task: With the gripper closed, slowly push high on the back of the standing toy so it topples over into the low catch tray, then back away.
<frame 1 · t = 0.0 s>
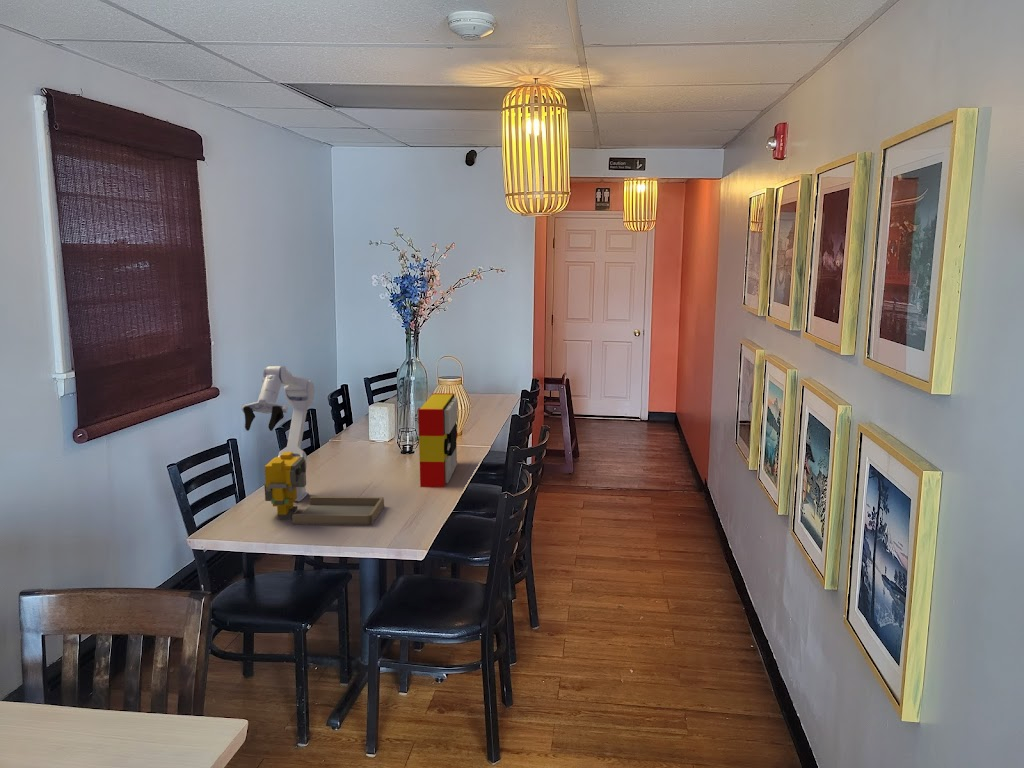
hand: (258, 429, 247), 32 cm above the table, fingers open, 7 cm apart
toy: (287, 514, 263), on the table
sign: (441, 475, 308), on the table
catch tray: (340, 514, 262), on the table
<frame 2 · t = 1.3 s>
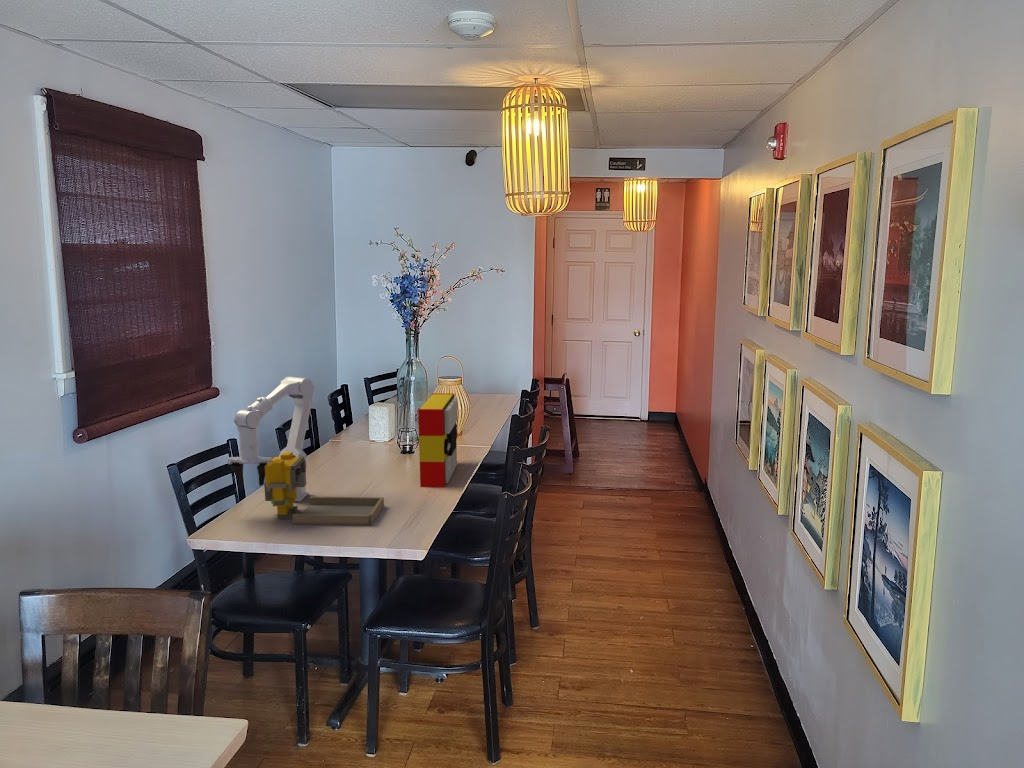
hand: (251, 484, 261), 10 cm above the table, fingers open, 6 cm apart
nothing on the table moved.
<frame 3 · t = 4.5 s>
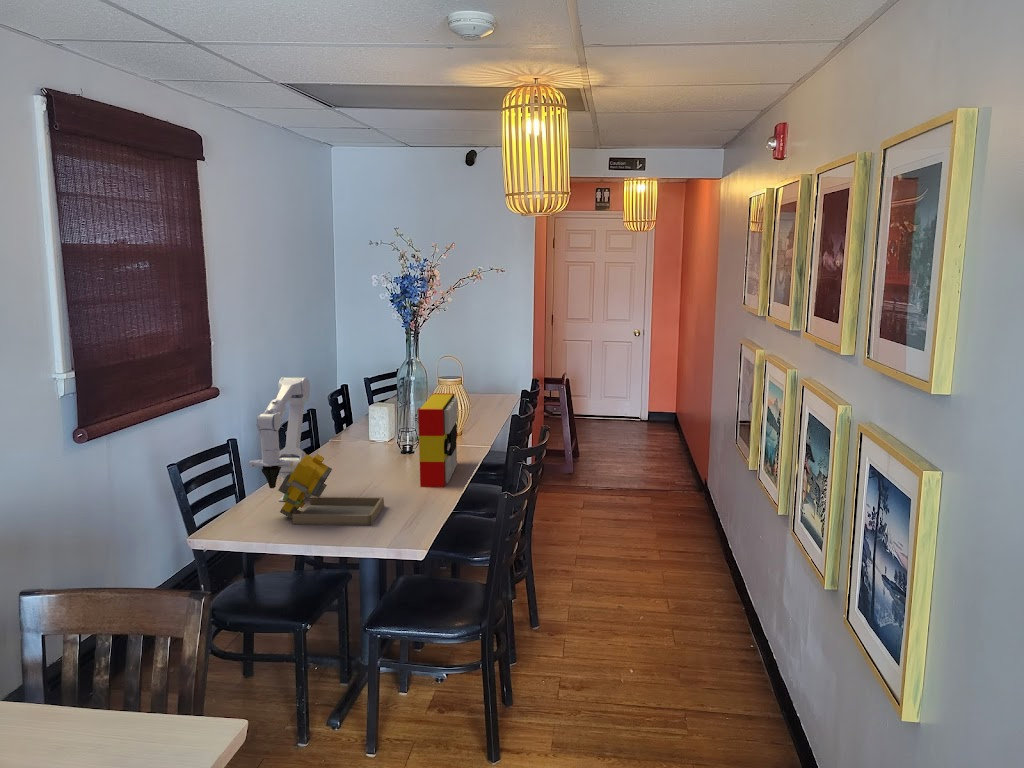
hand: (272, 487, 261), 9 cm above the table, fingers closed
toy: (288, 511, 262), point 1 cm above the table
everything else where it was.
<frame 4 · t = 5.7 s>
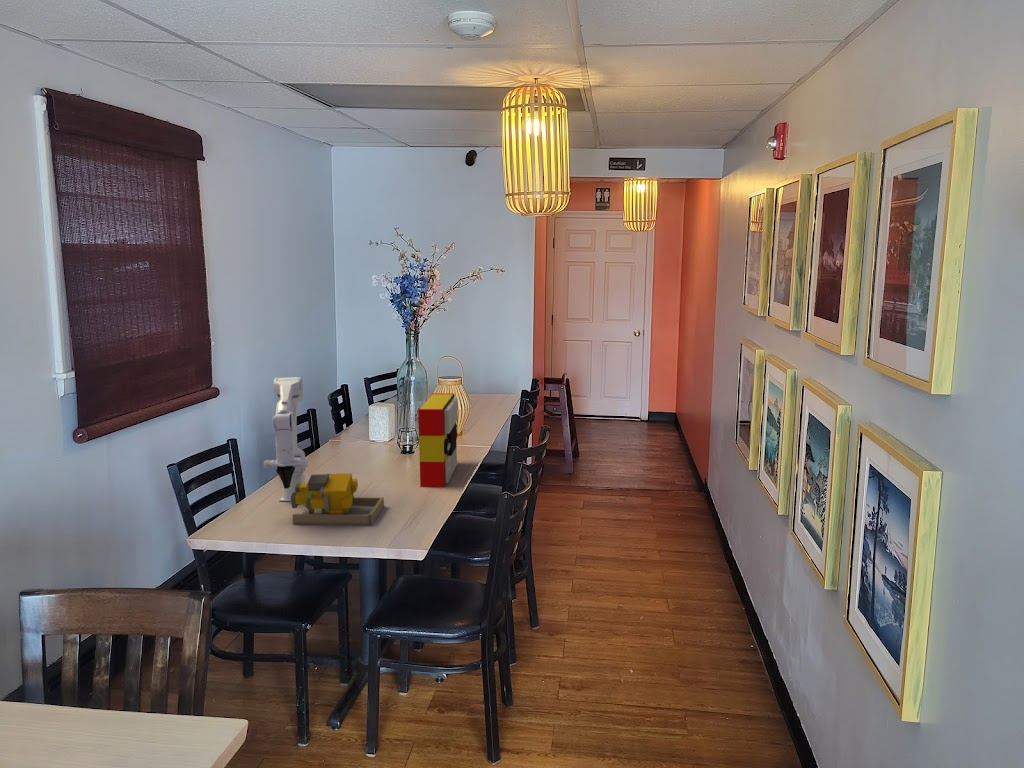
hand: (287, 487, 261), 9 cm above the table, fingers closed
toy: (294, 495, 259), point 7 cm above the table, touching catch tray
everything else where it was.
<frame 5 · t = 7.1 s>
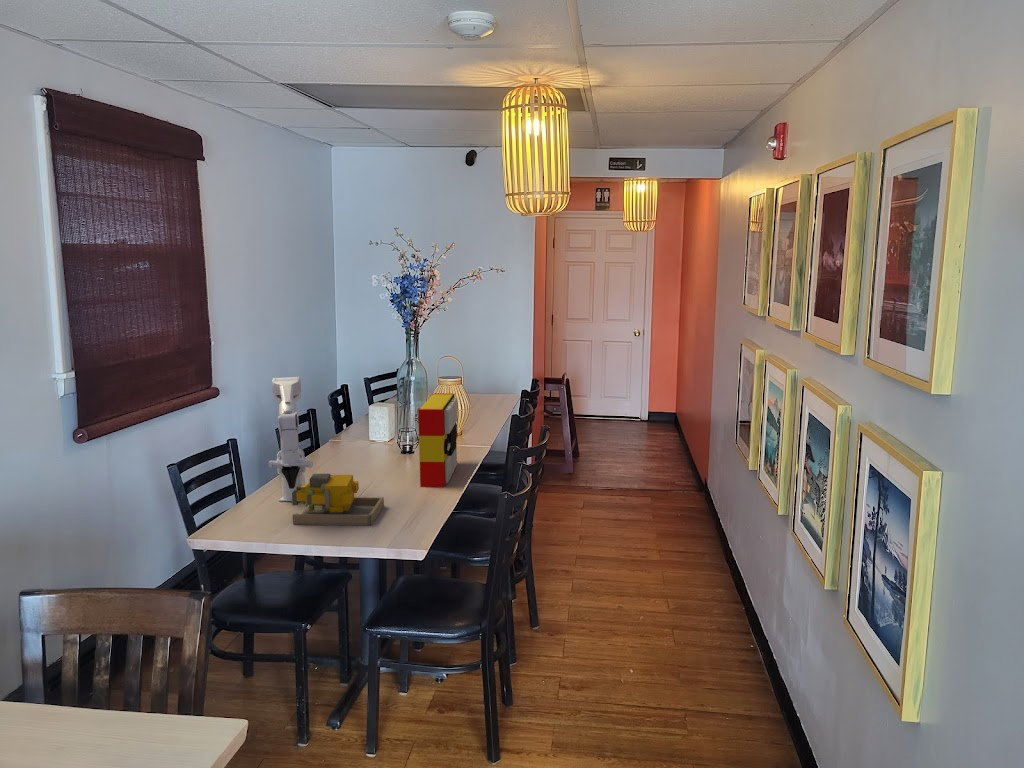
hand: (292, 487, 261), 9 cm above the table, fingers closed
toy: (295, 494, 261), point 7 cm above the table, touching catch tray
everything else where it was.
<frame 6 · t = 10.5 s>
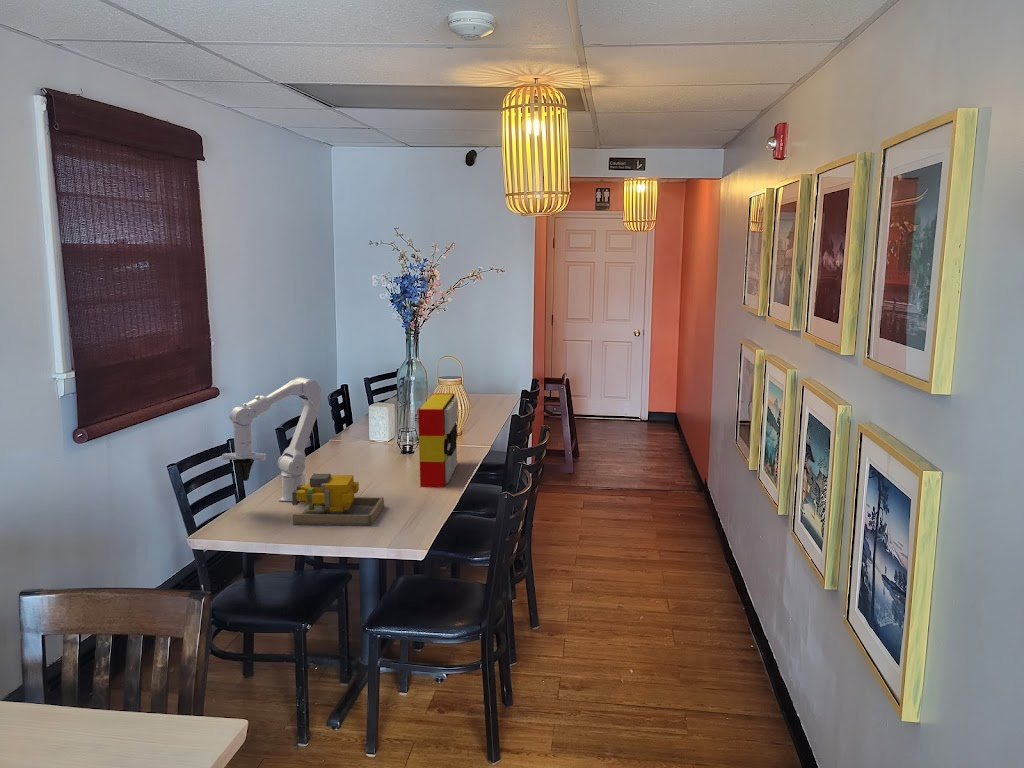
hand: (245, 480, 267), 10 cm above the table, fingers closed
nothing on the table moved.
at the end: toy tilted 90°; toy touching catch tray; toy inside the target area (12.5 cm from its centre), point 7.0 cm above the table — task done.
